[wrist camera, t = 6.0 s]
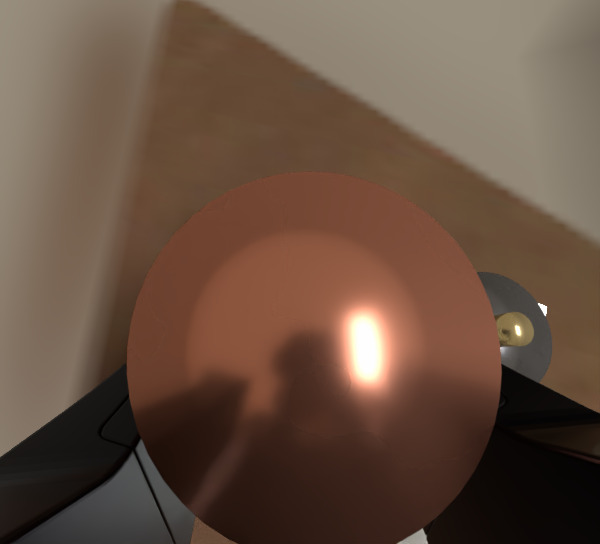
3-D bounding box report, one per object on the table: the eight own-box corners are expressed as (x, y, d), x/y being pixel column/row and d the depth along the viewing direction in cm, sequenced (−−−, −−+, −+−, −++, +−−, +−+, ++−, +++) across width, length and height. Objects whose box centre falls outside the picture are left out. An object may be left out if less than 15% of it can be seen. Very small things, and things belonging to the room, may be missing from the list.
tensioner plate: (498, 580, 19) (576, 659, 14) (346, 520, 19) (371, 577, 14) (535, 308, 24) (602, 296, 19) (415, 263, 24) (451, 239, 19)
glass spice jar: (330, 393, 15) (544, 533, 3) (241, 400, 14) (105, 592, 3) (322, 307, 16) (460, 170, 4) (241, 311, 15) (142, 172, 4)
